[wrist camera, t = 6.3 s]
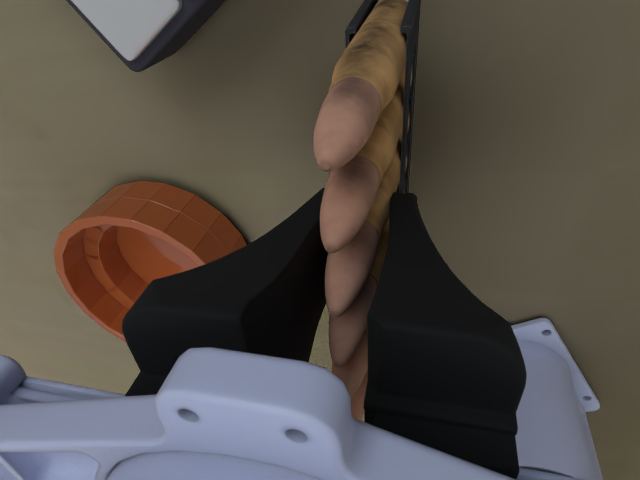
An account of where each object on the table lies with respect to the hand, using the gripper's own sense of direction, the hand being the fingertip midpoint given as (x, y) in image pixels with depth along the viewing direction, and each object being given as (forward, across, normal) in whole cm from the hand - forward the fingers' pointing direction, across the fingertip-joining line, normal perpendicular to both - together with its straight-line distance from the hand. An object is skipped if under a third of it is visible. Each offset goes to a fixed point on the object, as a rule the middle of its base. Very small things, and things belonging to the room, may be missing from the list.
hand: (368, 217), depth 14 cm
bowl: (+10, +15, +11) cm, 21 cm away
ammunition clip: (+7, 0, 0) cm, 7 cm away
